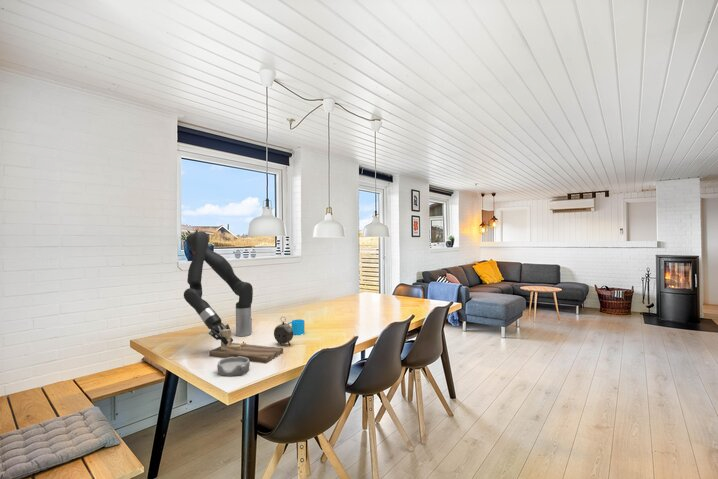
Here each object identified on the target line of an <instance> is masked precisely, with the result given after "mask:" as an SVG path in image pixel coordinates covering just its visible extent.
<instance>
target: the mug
mask: <svg viewBox="0 0 718 479" xmlns="http://www.w3.org/2000/svg"><path fill="white" fill-rule="evenodd" d="M287 324H288V325H290V324H291V328H292V330H293V336H302V335H301V334H303V335H304V334H305V319H292V320H291V321H290V322H288V323H287Z"/></svg>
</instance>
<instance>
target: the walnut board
mask: <svg viewBox="0 0 718 479" xmlns="http://www.w3.org/2000/svg"><path fill="white" fill-rule="evenodd" d="M239 344H240V343H237V342H232V343H231V345H239ZM280 354H281V355H282V354H284V347H277V346H268V345H267V346H266V345H255V344H247V343H246V345H245V346H243V347H241V350H239V351H230V350H221V345H220V346H218V347H216V348H214V349H211V350H208V357H213V358H220V359H224V358H228V357H238V356H241V357H246V358H248V359H249V362H253V363H261V364H262V363H263V364H267V363H269V362H271V361H273V360H274V359H276V358H277V357H279V356H281V355H280ZM278 355H279V356H278ZM275 357H276V358H275ZM272 359H273V360H272Z"/></svg>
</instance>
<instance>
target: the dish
mask: <svg viewBox="0 0 718 479" xmlns="http://www.w3.org/2000/svg"><path fill="white" fill-rule="evenodd" d="M250 362H251V361H249V359H248V358H246V357H241V356H238V357H228V358H220V360H218V361H217V372H218V374H219V375H221V376H227V377H233V376H234V377H235V376H240V375H243V374H245V373H247V372H248V371H249V369H250V367H251V366H250Z"/></svg>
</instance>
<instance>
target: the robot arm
mask: <svg viewBox="0 0 718 479" xmlns="http://www.w3.org/2000/svg"><path fill="white" fill-rule="evenodd" d="M185 239H186V240H185V241H186V242H185V243H186V244H187V246H188V247H189V248H190V249H191V250H192V251H193V252H194V254H193V258H192V260H191V261H190V265H189V268H188V272H187V283H188V285H189V288H187V289H185V290H184V291H183V298H184V300H185V301H186V303H188V304H189V306H191V307H192V308H193V309H194V310H195V312H196V314H198V316H199V317H200V319H201V320H202V322H203V324H204V325H205V326H206V327H207V329H209V330H210V331H209V332H208V335H210V336H211V337H212V338H214V339H215V340H216V341H219V340H220V342H221V341H222V342H223V343H224V344H225V345H227V344H228V341H227V339H226V338H225V337H224V335H223V334H222V331H221V330H223V329H231V328H230V325H229V324H228V323H227V324H226V325H225V324H224V323H222V319H221V317H220V316H219V315H218V313H217V312H216V311H215V309H213V307H211V305H210V304H209V303H208V301H207V300H204V299H203V286H202V279H203V276H202V274H203V268H204V262H206V264H207V265H208V266H209V267H210V268H211V269H212V271H214V273H216V274H217V275H218V276H219V277H220V278H221V279H222V281H224V282H225V283H226V284H227V285H228V286H229V288H230V289H231V290H232V292H233V293H234V294H235V295H236V296H238V297H239V298H238V301H237V302H236V304H235V336H236V337H247V336H250V335H251V334H252V333H253V327H252V326H253V319H252V303H253V296H254V295H253V294H254V292H253V291H254V288H253V286H252V284H251V283H249V282H245V281H242V280H241V278H239V277H238V276H237V275H236V274H235V271H234V269H233V267H232V265H231V264H230V262H229V261H228V260H227V259H226V257H224V256H223V255H221V254H219V253H217V252H215V251H213V250H212V249H210V248H209V247H208V246H209V241H210V237H209V235H208V234H207V232H205V231H201V230H200V231H196V232H193V233H190V234H188V235H187V237H186V238H185ZM233 342H234V339H233V337H231V343H233Z"/></svg>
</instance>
